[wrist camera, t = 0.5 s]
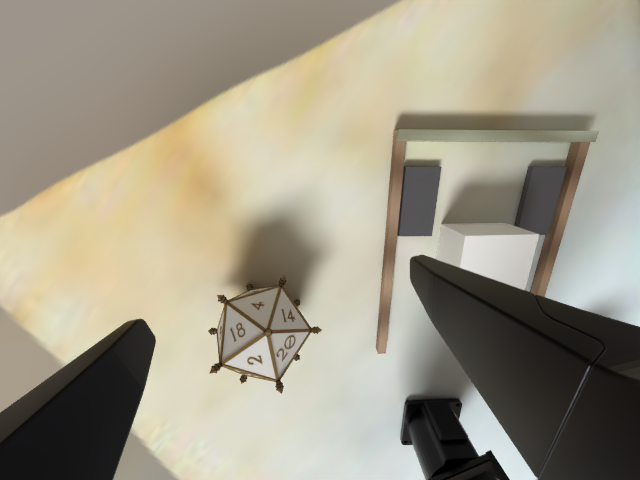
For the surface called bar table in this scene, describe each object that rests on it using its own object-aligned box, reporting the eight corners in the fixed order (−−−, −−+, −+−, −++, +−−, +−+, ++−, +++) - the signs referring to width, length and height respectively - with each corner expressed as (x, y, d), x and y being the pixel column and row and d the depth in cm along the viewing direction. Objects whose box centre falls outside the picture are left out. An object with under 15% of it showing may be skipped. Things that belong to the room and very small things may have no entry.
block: (490, 280, 26) (521, 301, 22) (431, 282, 26) (453, 304, 22) (502, 222, 24) (539, 234, 21) (439, 223, 24) (465, 235, 20)
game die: (272, 270, 28) (287, 244, 19) (317, 336, 28) (355, 342, 19) (193, 321, 25) (166, 320, 16) (242, 399, 24) (244, 445, 15)
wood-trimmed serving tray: (523, 343, 28) (532, 351, 27) (375, 348, 28) (379, 356, 26) (583, 132, 22) (598, 130, 21) (393, 130, 21) (399, 129, 20)
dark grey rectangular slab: (543, 232, 25) (548, 234, 24) (397, 234, 24) (399, 236, 23) (561, 166, 23) (567, 167, 22) (403, 166, 22) (405, 166, 22)
